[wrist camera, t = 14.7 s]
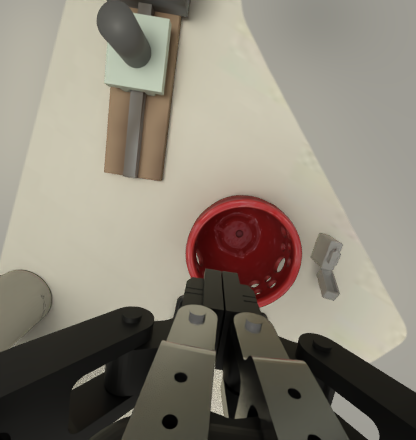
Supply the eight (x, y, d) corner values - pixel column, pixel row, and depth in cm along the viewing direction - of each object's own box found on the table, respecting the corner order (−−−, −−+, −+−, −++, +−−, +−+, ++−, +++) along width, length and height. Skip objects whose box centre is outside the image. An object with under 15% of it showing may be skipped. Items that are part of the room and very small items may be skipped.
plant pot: (261, 175, 40) (282, 180, 28) (289, 255, 43) (318, 290, 31) (179, 207, 41) (166, 224, 30) (210, 283, 44) (210, 327, 32)
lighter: (319, 232, 42) (344, 248, 34) (330, 235, 42) (357, 252, 34) (303, 275, 43) (324, 299, 35) (314, 277, 43) (336, 303, 35)
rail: (97, 170, 40) (52, 173, 29) (112, -53, 35) (65, -157, 23) (168, 181, 41) (152, 188, 29) (196, -39, 35) (188, -135, 24)
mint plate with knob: (113, 89, 36) (76, 62, 26) (118, 21, 35) (81, -34, 25) (165, 97, 36) (148, 74, 27) (173, 31, 35) (157, -21, 25)
